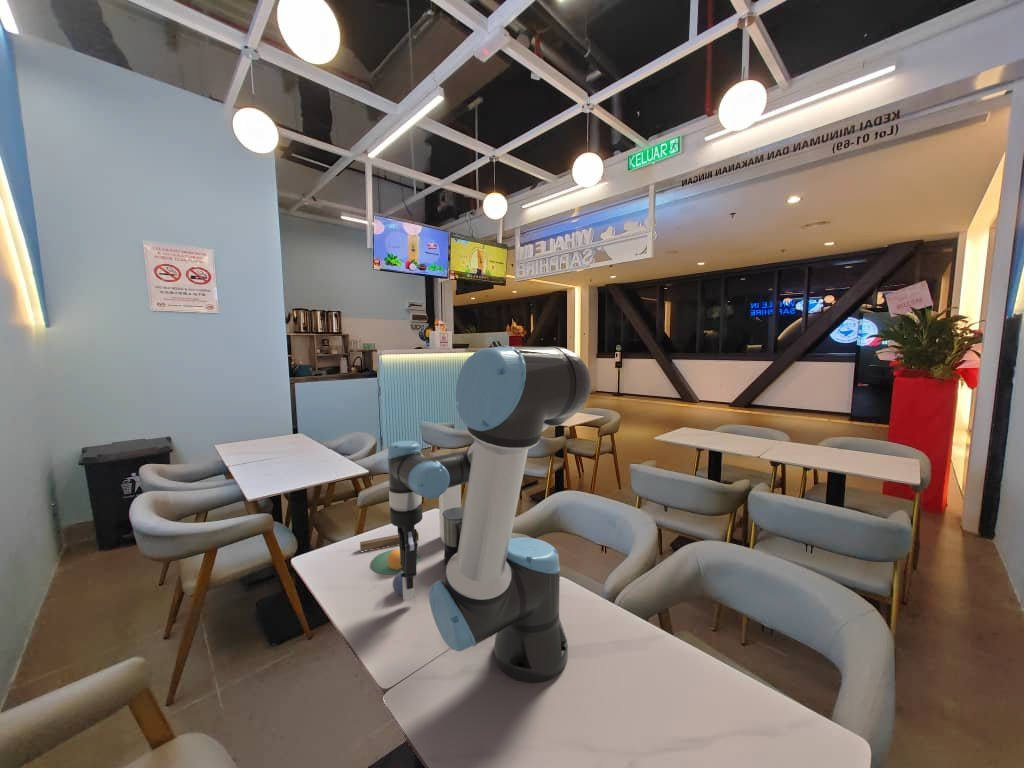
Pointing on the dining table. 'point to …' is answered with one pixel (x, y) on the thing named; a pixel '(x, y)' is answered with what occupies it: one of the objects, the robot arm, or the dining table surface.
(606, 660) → the dining table surface
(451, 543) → the milk frother
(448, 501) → the milk
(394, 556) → the orange ball
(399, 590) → the navy ball
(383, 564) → the green mark
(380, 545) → the walnut stopper
